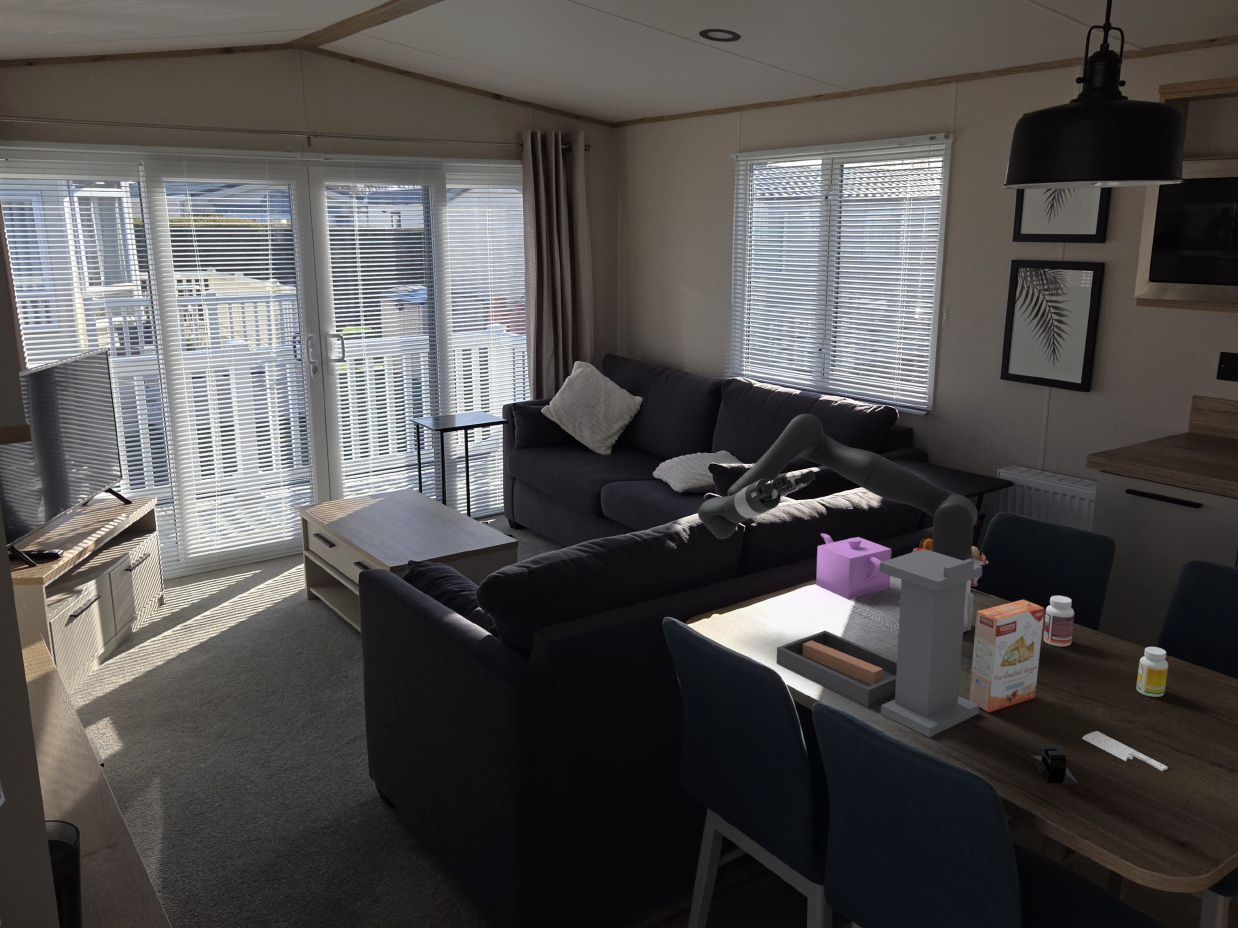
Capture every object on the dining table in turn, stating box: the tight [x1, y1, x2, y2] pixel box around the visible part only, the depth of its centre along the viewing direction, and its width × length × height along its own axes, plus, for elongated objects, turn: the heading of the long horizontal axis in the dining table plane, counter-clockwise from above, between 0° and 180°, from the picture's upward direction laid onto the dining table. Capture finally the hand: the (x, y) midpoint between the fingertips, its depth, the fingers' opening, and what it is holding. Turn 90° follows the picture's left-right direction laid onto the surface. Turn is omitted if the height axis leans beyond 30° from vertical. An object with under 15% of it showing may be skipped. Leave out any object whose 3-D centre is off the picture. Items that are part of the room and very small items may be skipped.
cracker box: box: [968, 599, 1046, 713], centre depth 205 cm, size 14×6×21 cm, turn 117°
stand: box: [879, 549, 983, 738], centre depth 200 cm, size 15×16×34 cm
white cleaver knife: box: [1081, 730, 1169, 772], centre depth 186 cm, size 5×15×1 cm, turn 26°
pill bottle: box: [1043, 595, 1075, 648], centre depth 235 cm, size 6×6×11 cm
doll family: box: [912, 538, 989, 587], centre depth 274 cm, size 21×10×13 cm, turn 58°
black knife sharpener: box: [1029, 744, 1078, 785], centre depth 181 cm, size 12×7×5 cm, turn 176°
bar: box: [803, 640, 883, 685], centre depth 221 cm, size 20×3×3 cm, turn 39°
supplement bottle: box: [1136, 646, 1169, 698], centre depth 209 cm, size 5×5×10 cm
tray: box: [776, 630, 897, 708], centre depth 220 cm, size 27×16×4 cm, turn 35°
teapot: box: [815, 533, 892, 600], centre depth 274 cm, size 15×25×14 cm, turn 30°
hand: (800, 477), depth 223 cm, fingers open, 8 cm apart
